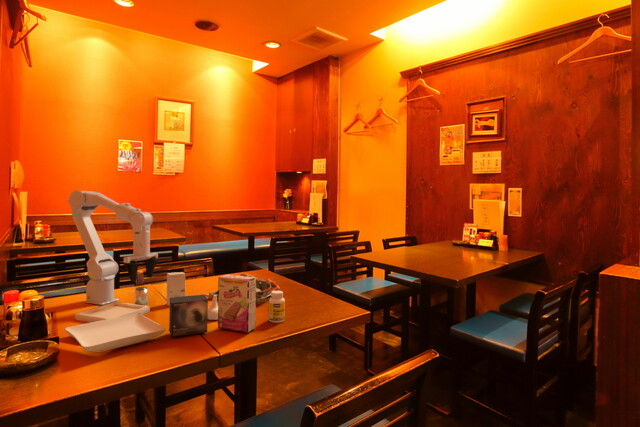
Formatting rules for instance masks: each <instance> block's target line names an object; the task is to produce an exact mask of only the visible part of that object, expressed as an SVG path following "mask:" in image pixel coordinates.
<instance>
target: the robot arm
mask: <svg viewBox="0 0 640 427" xmlns="http://www.w3.org/2000/svg"><path fill="white" fill-rule="evenodd" d="M67 202H68V204H69V206H70V208H71V218H72V220H73V222H74V225H75V227H76V229H77V232H78V234H79V237H80V239H81V241H82V243H83V245H84V248H85V250H86V252H87V254H88V257H89V259H88V261H86V267H87V276H88V277H89V278H90V279H89V280H88V281H87V283H86V288H85V289H86V290H85V291H86V292H85V294H86V296H85V297H86V298H85V299H86V300H84V301H83V302H84V304H85V303H87V304H94V305H99V306H103V305H106V304H110V303H113V302H119V301H120V298H116V297H115V277H116V275H117V273H118V272H119V265H118V262H116V261H115V260H114V258H113V256H112V255H110V254H108V253H106V251H105V249H104V247H103V244H102V241H101V239H100V237H99V235H98V232H97V230H96V228H95V226H94V224H93V220H92V219H91V215H92V214H93V213H94V212H95V211H96V210H97V208H98V207H99V206H101V207H104V208H105V209H107V210H108V209H109V210H110V211H112V212H115V215H116V217H117V218H120V219H122V220H124V221H126V222H128V223H129V224H130V225H131V227H132V231H133V232H132V233H133V239H132V240H133V241H132V242H133V245H132V249H133V252H132V255H128V256H124V257H123V266H124V267H125V269H126V271H127V273H128V277H129V280H130V282H137V279H138V278H137V277H138V269H139V266H140V263H139V262H138V261H143V262H144V265H145V275H146V278H152V277H153V276H154V271H155V268H156V266H157V264H158V262H159V253H158V252H151V225H152V224H153V222H154V217H153V215H152V213H150V212H149V211H142V209H141V208H136V207H134V206H132V205H131V203H130V202H122V203H119V202H117V201H115V200H113V199H112V198H110V197H108V196H107V195H104V194H103V193H101V192H98V191H95V190H91V191H89V190H73V191H72V192H71V193H70V196H69V197H68V200H67Z"/></svg>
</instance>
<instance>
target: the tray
mask: <svg viewBox="0 0 640 427" xmlns="http://www.w3.org/2000/svg"><path fill="white" fill-rule="evenodd" d="M150 308H151V305H150V306H149V305H144V306H143V305H136V304H135V303H128V302H121V301H114V302H111V303H107V304H104V305H99V306H97V307H94V308H89V309H85V310H83V311H79V312H76V313H74V320H76V321H80V322H81V321H82V322H87V323H91V322H96V321H101V320H107V319H112V318H118V317H123V316H129V315H134V314H141V315H143V316H144V315H145V314H148V313H150V312H151V309H150Z"/></svg>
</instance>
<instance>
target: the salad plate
mask: <svg viewBox="0 0 640 427" xmlns="http://www.w3.org/2000/svg"><path fill="white" fill-rule="evenodd" d="M166 330H167V329H166V327H164V326H162V325H161V324H159V323H157V322H156V321H154V320H153V319H150V318H149V317H147V316H145V315H144V314H143V315H141V314H134V315H129V316H123V317H118V318H112V319H107V320H101V321H96V322H87V323H81V324H77V325H74V326H73V325H72V326H67V327H65V328H64V331H65V332H66V333H67V334H68V335H70V337H72V338H73V339H75V340H76V342H78V344H79V345H80V347H82V349H83V351H86V352H91V353H92V352H95V353H97V352H104V351H110V350H114V349H119V348H122V347H127V346H130V345H131V346H132V345H135V344H139V343H144V342H146V341H148V340H151V339H154V338H157V337H159V336H161V335H162V334H164V332H165V331H166Z"/></svg>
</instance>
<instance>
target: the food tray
mask: <svg viewBox="0 0 640 427" xmlns="http://www.w3.org/2000/svg"><path fill="white" fill-rule="evenodd" d="M237 276H244V277H254V278H256V305H262V304H264V303H266V301H267V300H269V299H270V297H272V296H271V292H272V291H281V287H280V286H279V285H278V284H276V282H275V281H273V280H271V279H270V278H266V279H265V280H264V279H259V278H258V277H256V276H254V275H251V274H248V273H244V272H241V273H240V274H238V275H237ZM203 295H205V296H206V297H207V299H208V301H209V300H210V301H212V299H213V296H214V295H217V301H218V290H216V291H212V292H208V293H206V292H205V293H203ZM268 298H269V299H268ZM265 300H266V301H265ZM263 302H264V303H263Z"/></svg>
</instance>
